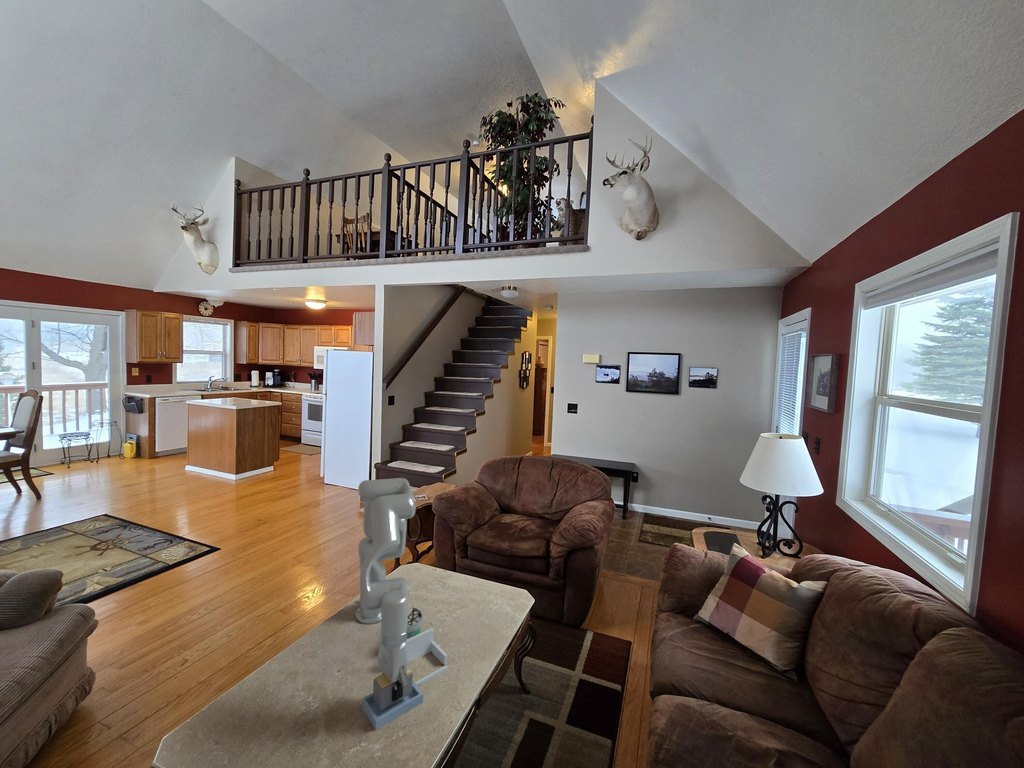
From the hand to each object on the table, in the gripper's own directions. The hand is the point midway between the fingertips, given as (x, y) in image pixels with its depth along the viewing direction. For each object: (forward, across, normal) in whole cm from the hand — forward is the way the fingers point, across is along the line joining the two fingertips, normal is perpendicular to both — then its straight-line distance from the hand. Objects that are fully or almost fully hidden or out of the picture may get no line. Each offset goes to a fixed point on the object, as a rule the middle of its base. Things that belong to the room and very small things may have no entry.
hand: (392, 692), depth 129 cm
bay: (+4, -7, +15) cm, 17 cm away
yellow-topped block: (+1, 0, 0) cm, 1 cm away
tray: (+4, 0, 0) cm, 4 cm away
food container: (+4, -19, +18) cm, 26 cm away
